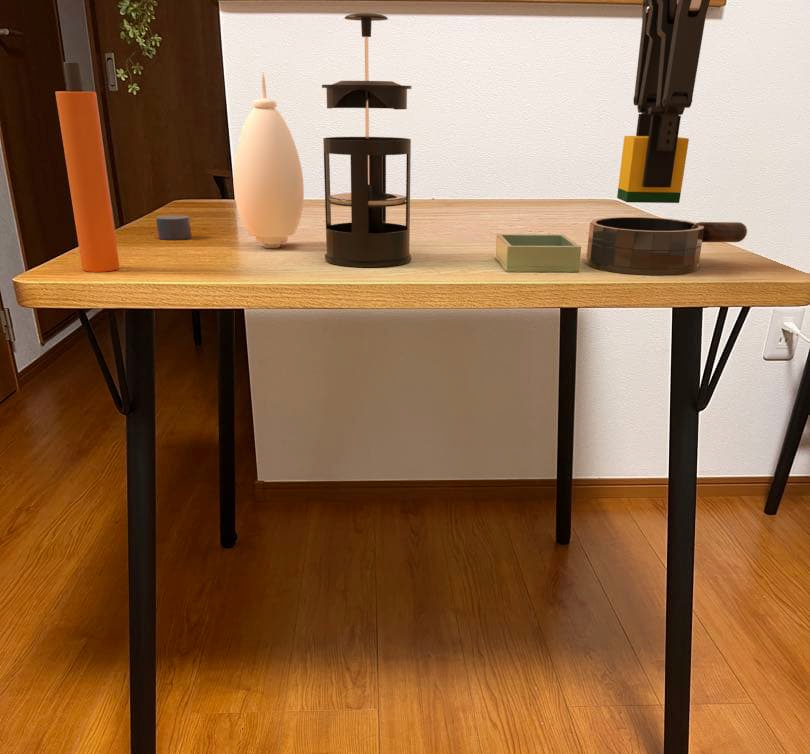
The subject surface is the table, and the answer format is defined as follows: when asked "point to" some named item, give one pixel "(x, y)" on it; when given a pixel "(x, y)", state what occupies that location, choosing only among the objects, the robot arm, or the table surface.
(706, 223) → the pan handle
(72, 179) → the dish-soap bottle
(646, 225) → the pan
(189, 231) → the steel-wool tin
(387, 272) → the table surface
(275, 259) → the table surface
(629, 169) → the sponge
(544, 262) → the sponge dish
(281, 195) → the air blower bulb
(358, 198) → the french press
